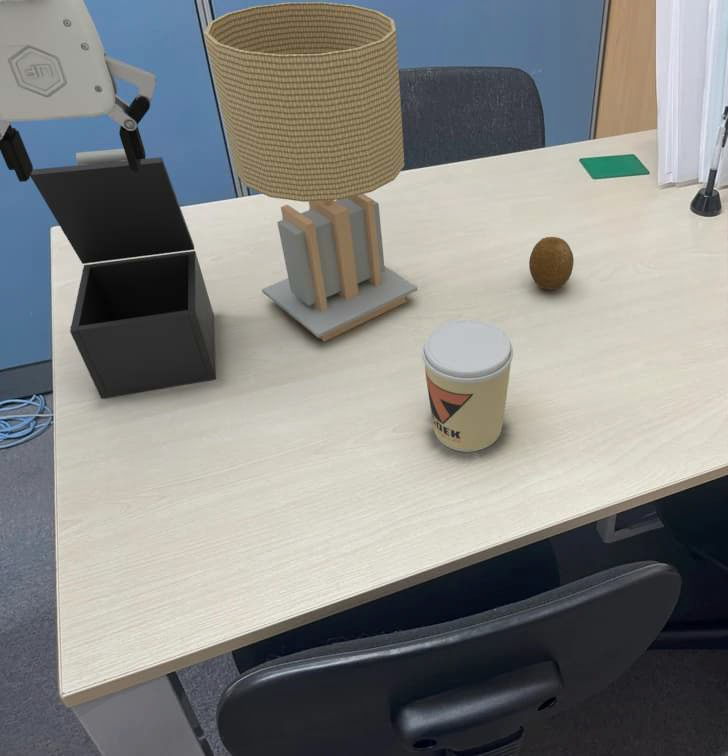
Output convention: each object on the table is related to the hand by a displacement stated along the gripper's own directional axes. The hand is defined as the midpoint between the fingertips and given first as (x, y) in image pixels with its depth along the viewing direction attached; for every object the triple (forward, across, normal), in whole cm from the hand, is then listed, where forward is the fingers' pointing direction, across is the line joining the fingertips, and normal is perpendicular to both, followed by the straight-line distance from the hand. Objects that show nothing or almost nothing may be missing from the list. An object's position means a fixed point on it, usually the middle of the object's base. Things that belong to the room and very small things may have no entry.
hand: (82, 170), depth 69 cm
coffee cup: (+26, +34, -19) cm, 46 cm away
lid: (+9, 0, +7) cm, 11 cm away
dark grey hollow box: (+26, 0, +4) cm, 26 cm away
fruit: (+25, +52, +5) cm, 58 cm away
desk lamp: (+25, +24, +9) cm, 36 cm away
